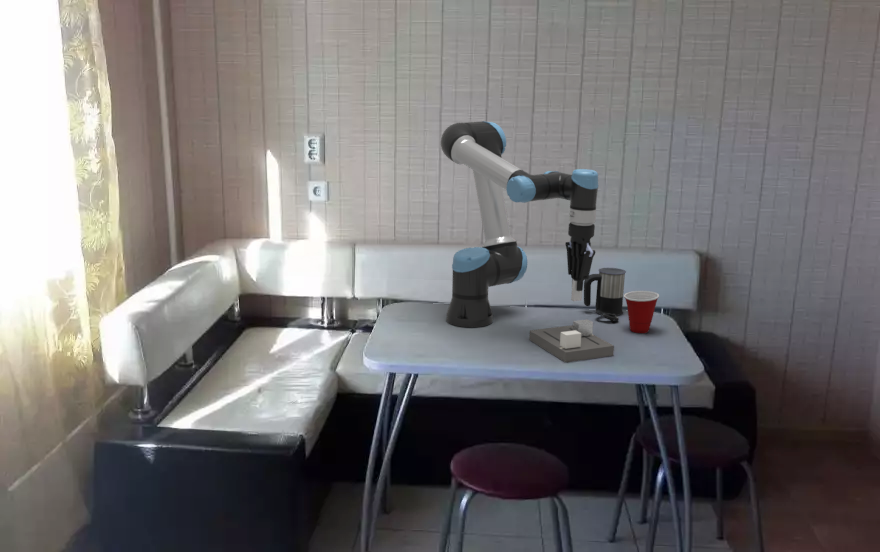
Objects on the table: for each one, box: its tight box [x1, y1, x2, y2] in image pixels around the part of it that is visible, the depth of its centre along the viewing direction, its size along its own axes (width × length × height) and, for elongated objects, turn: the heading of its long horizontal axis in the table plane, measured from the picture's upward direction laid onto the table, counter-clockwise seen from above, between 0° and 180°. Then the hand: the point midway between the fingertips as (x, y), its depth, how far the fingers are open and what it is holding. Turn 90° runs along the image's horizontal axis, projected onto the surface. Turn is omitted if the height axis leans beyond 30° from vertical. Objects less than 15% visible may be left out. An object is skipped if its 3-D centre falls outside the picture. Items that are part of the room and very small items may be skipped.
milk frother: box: [583, 267, 627, 323], centre depth 273 cm, size 14×16×15 cm
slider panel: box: [528, 324, 615, 363], centre depth 243 cm, size 21×16×3 cm
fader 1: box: [560, 330, 581, 349], centre depth 234 cm, size 3×5×4 cm, turn 113°
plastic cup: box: [623, 290, 660, 334], centre depth 258 cm, size 11×11×12 cm
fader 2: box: [572, 319, 594, 336], centre depth 244 cm, size 3×5×4 cm, turn 113°
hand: (576, 300), depth 246 cm, fingers closed
